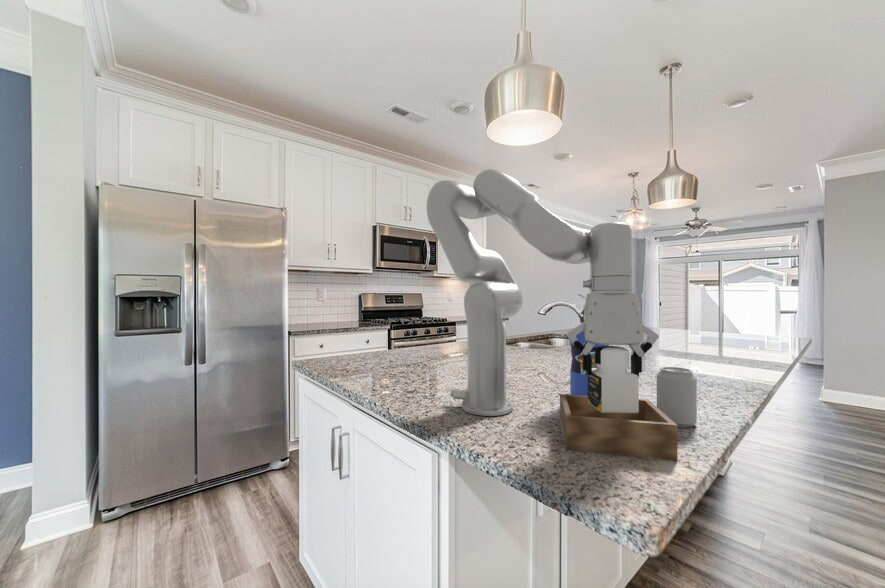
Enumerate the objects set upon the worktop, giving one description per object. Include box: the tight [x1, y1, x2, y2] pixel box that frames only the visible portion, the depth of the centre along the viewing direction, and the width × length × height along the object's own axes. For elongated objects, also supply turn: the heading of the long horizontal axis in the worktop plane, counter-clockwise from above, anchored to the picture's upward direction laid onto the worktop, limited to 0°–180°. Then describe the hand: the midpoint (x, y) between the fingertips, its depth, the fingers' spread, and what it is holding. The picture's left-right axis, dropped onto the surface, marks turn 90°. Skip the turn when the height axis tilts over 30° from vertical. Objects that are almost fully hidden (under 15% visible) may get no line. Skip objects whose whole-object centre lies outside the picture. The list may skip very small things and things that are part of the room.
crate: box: [559, 393, 678, 461], centre depth 73 cm, size 18×16×6 cm
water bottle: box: [569, 309, 610, 396], centre depth 93 cm, size 9×9×25 cm
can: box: [656, 366, 698, 428], centre depth 82 cm, size 8×8×12 cm
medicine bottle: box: [588, 345, 640, 413], centre depth 73 cm, size 7×7×12 cm
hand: (611, 374), depth 73 cm, fingers closed on medicine bottle, 8 cm apart
